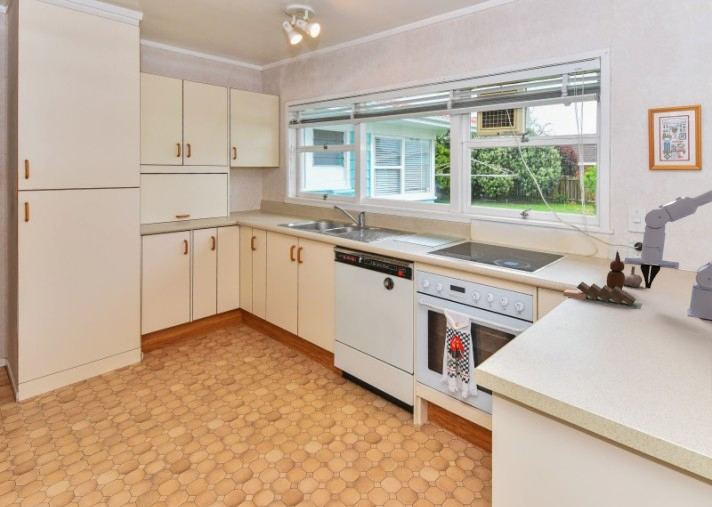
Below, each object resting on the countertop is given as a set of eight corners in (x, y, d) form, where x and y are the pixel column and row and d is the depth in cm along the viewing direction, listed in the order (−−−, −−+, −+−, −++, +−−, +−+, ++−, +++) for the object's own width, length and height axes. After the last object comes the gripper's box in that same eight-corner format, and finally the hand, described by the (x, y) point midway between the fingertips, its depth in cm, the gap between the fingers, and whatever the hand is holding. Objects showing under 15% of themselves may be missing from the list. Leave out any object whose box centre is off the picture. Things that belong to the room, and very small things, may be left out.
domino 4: (635, 298, 144) (616, 285, 147) (634, 301, 141) (614, 288, 144) (632, 302, 145) (612, 289, 148) (630, 305, 141) (610, 292, 144)
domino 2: (612, 295, 148) (593, 283, 151) (610, 298, 145) (591, 285, 148) (608, 299, 149) (590, 287, 152) (606, 302, 145) (587, 289, 148)
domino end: (587, 291, 153) (566, 289, 157) (585, 294, 149) (563, 291, 153) (587, 296, 153) (566, 294, 157) (585, 299, 149) (563, 296, 154)
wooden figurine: (606, 287, 168) (610, 249, 165) (624, 289, 164) (628, 250, 162) (604, 291, 162) (608, 251, 160) (622, 293, 159) (627, 253, 156)
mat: (642, 304, 145) (642, 303, 145) (640, 310, 138) (640, 309, 138) (587, 296, 155) (587, 295, 154) (582, 301, 148) (582, 300, 148)
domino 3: (624, 297, 146) (605, 284, 149) (622, 300, 143) (603, 287, 146) (620, 301, 147) (601, 288, 150) (619, 304, 143) (599, 291, 146)
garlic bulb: (641, 289, 166) (644, 268, 165) (619, 286, 170) (622, 266, 168) (640, 285, 172) (643, 265, 171) (619, 282, 176) (621, 263, 175)
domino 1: (600, 294, 150) (582, 281, 153) (598, 296, 147) (579, 283, 150) (597, 297, 151) (579, 285, 154) (594, 300, 148) (576, 287, 151)
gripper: (680, 247, 138) (675, 288, 140) (627, 243, 146) (623, 282, 149) (681, 250, 132) (675, 293, 134) (625, 245, 141) (621, 286, 143)
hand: (647, 287), depth 141 cm, fingers closed
